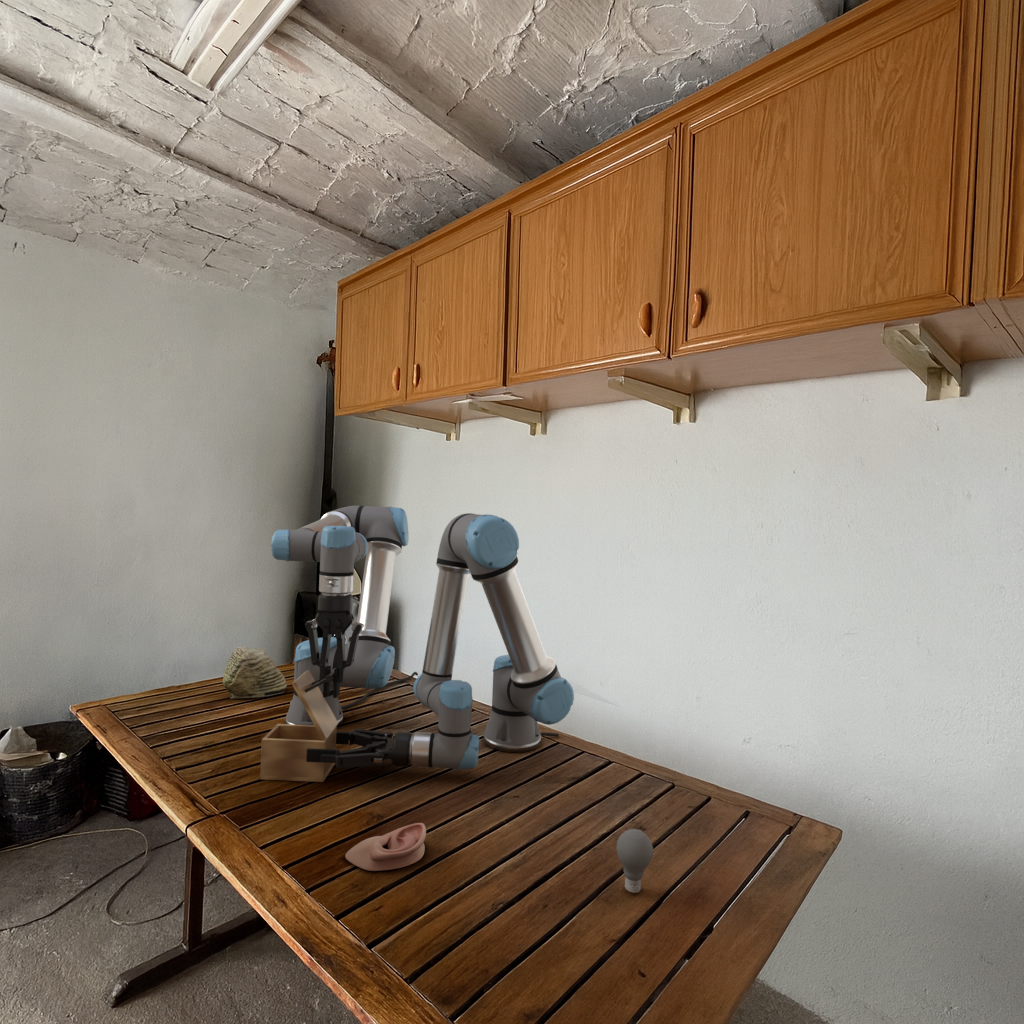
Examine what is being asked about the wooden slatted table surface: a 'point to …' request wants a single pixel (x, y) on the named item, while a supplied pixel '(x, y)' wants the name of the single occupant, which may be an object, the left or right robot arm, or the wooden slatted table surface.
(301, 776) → the chest
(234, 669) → the fossil
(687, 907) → the wooden slatted table surface
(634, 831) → the light bulb
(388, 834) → the anatomical model
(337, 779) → the wooden slatted table surface
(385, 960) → the wooden slatted table surface
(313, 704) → the lid
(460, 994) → the wooden slatted table surface
